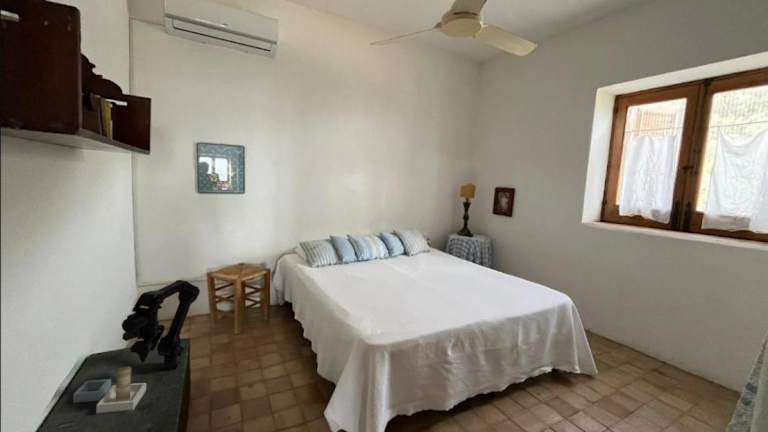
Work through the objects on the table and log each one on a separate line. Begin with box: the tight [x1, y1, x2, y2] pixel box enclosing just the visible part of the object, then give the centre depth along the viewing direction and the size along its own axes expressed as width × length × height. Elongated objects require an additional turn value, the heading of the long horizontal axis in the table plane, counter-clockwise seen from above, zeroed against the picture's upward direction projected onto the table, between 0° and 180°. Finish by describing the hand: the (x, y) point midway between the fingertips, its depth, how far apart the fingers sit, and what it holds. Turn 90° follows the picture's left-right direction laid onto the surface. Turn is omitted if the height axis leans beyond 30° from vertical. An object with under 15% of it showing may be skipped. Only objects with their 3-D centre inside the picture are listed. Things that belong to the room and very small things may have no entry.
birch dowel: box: [115, 365, 132, 402], centre depth 123 cm, size 4×4×13 cm
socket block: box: [72, 378, 112, 404], centre depth 126 cm, size 8×8×4 cm
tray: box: [95, 382, 147, 415], centre depth 124 cm, size 12×12×4 cm
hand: (147, 356), depth 134 cm, fingers open, 9 cm apart
